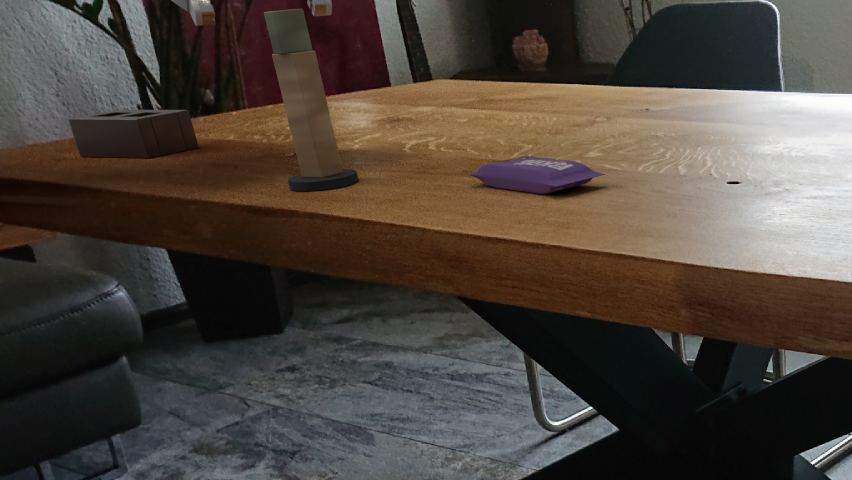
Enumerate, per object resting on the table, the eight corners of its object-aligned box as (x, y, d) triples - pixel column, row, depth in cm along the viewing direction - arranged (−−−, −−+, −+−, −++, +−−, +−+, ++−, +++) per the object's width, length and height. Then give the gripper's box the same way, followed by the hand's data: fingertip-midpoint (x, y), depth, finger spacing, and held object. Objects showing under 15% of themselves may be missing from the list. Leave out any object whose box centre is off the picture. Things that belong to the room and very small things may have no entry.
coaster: (287, 194, 91) (285, 184, 91) (292, 182, 96) (290, 173, 96) (358, 186, 93) (356, 176, 92) (359, 175, 98) (357, 166, 97)
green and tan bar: (318, 179, 92) (278, 11, 87) (297, 178, 93) (256, 12, 88) (346, 171, 95) (309, 8, 89) (326, 171, 96) (288, 9, 90)
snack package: (604, 161, 85) (554, 174, 82) (608, 186, 86) (558, 199, 83) (513, 151, 92) (463, 162, 89) (517, 174, 93) (468, 186, 90)
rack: (148, 158, 114) (137, 119, 113) (80, 156, 119) (67, 118, 117) (199, 147, 119) (188, 109, 118) (131, 146, 124) (120, 109, 122)
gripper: (66, -137, 87) (123, -5, 84) (329, -139, 98) (387, -22, 95) (78, -73, 92) (132, 54, 89) (326, -81, 103) (382, 31, 100)
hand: (266, 15), depth 92 cm, fingers open, 8 cm apart
